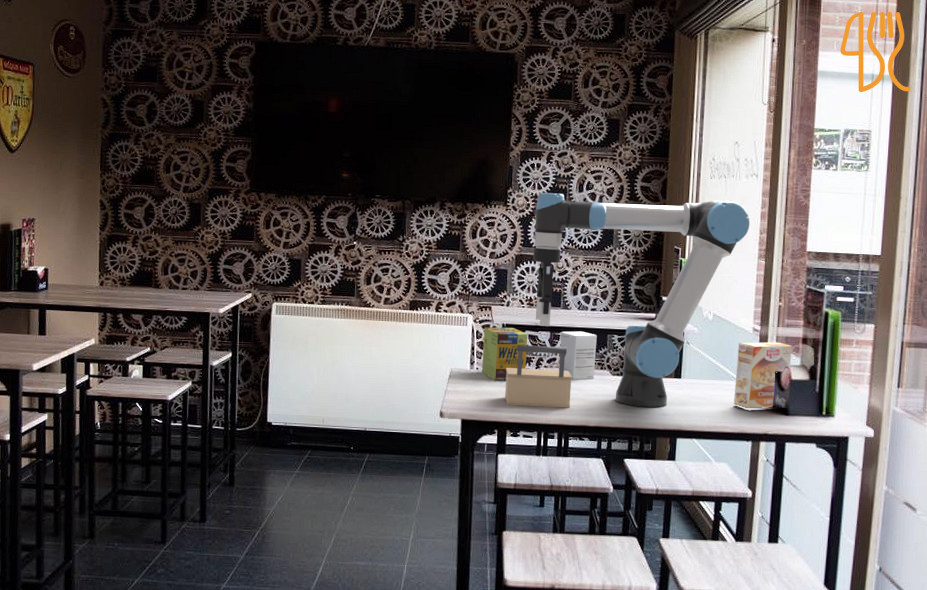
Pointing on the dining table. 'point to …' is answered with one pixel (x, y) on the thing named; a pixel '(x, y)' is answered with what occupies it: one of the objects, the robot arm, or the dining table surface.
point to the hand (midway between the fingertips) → (542, 322)
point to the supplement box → (579, 354)
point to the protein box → (502, 351)
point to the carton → (537, 391)
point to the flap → (538, 372)
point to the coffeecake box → (759, 372)
